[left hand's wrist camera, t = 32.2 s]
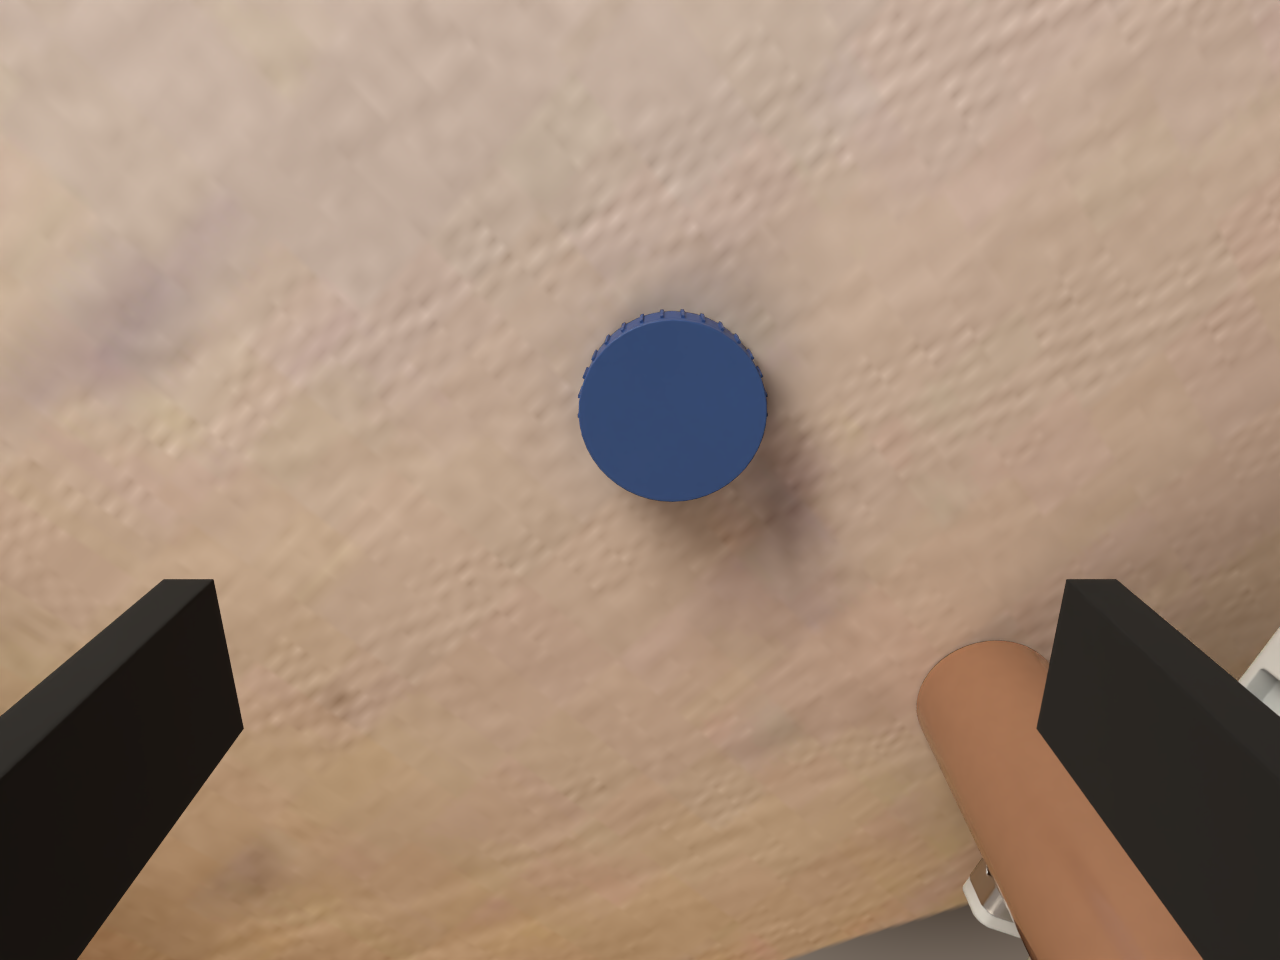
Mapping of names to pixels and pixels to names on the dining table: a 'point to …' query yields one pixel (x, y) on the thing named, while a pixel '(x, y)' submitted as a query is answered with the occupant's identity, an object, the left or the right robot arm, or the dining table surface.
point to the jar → (1037, 815)
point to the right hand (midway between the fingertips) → (1033, 806)
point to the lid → (672, 406)
